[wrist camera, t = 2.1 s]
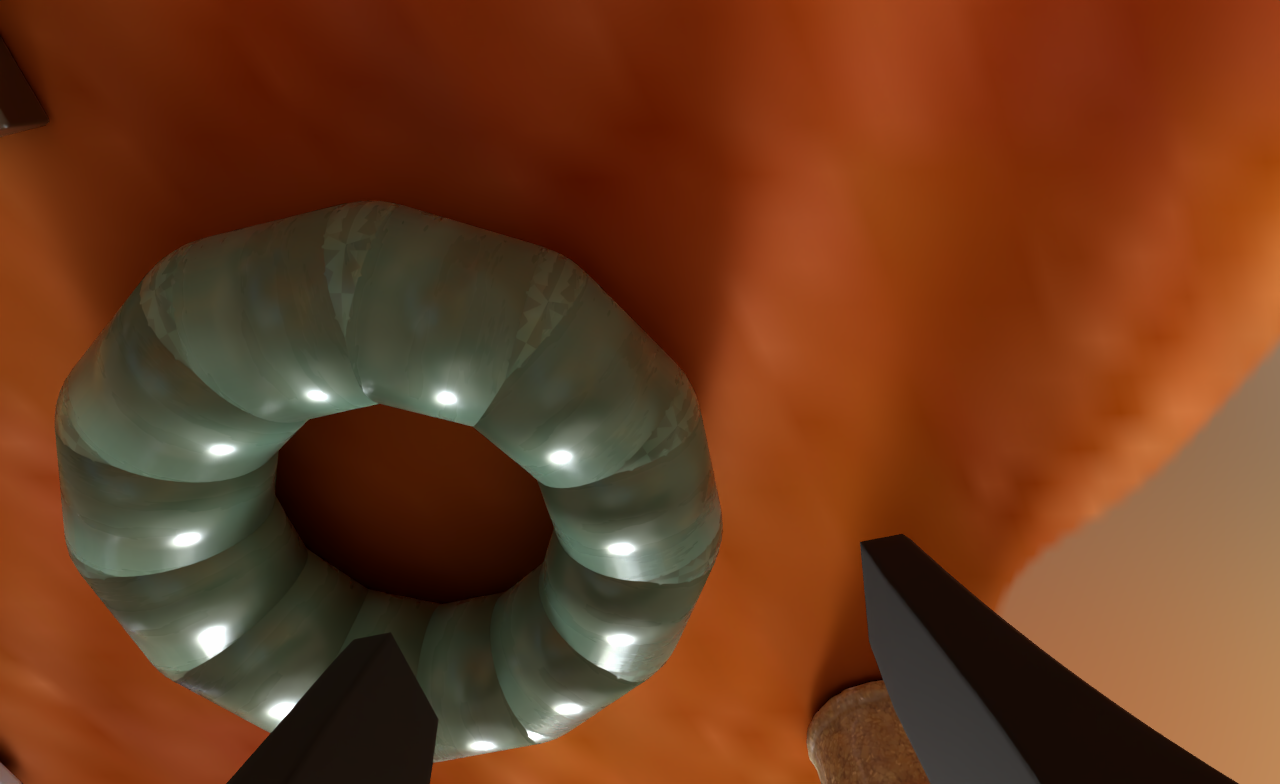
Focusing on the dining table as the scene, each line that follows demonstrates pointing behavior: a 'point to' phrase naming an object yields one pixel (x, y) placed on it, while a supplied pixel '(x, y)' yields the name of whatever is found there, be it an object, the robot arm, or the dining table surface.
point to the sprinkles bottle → (862, 740)
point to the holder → (17, 98)
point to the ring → (407, 379)
